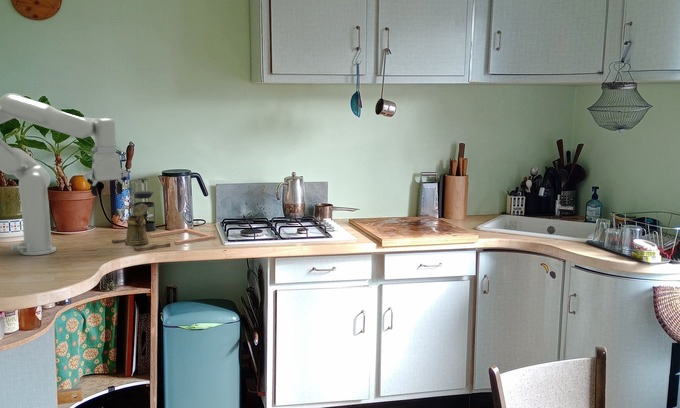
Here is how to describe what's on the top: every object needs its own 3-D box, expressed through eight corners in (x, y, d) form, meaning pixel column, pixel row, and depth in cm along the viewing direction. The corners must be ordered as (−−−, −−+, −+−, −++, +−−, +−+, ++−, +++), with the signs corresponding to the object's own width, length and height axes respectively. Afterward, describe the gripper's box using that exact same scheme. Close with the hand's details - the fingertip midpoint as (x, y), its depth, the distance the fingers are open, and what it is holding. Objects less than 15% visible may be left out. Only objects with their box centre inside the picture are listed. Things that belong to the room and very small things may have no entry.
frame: (177, 245, 274) (177, 242, 274) (150, 236, 289) (150, 233, 289) (215, 238, 286) (215, 235, 286) (187, 230, 302) (187, 228, 301)
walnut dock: (137, 251, 262) (137, 248, 262) (111, 242, 278) (111, 239, 278) (170, 246, 272) (170, 243, 271) (143, 237, 287) (143, 234, 287)
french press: (157, 227, 309) (155, 176, 306) (157, 231, 300) (154, 179, 297) (130, 228, 307) (128, 177, 303) (129, 232, 298) (126, 180, 294)
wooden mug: (132, 249, 266) (130, 203, 263) (122, 243, 277) (120, 199, 274) (154, 246, 271) (153, 201, 268) (144, 240, 282) (142, 197, 279)
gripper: (86, 152, 253) (88, 197, 256) (131, 150, 264) (132, 194, 267) (79, 150, 259) (81, 195, 262) (123, 149, 270) (124, 191, 273)
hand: (107, 194), depth 264 cm, fingers open, 9 cm apart
